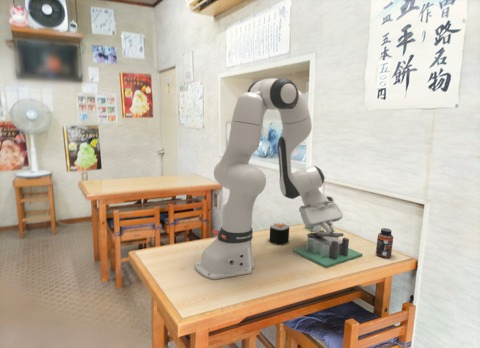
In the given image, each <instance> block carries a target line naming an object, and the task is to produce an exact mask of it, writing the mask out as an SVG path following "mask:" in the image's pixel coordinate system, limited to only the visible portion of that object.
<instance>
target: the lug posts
mask: <svg viewBox="0 0 480 348" xmlns="http://www.w3.org/2000/svg"><path fill="white" fill-rule="evenodd" d="M341 240H342V250H341V255H343V256H348V248H349V245H350V244H349V242H350V239H349V238H347V237H343V238H342V239H341ZM337 251H338V242H337V241H332V243H331V255H330V258H332V259H334V260H335V259H337Z"/></svg>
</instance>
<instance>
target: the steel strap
mask: <svg viewBox="0 0 480 348" xmlns="http://www.w3.org/2000/svg"><path fill="white" fill-rule="evenodd" d="M312 233H313V236H324V237H335V238H337V237H338V238H341V237H344V233H341V232H333V233H329V234H328V233H327V232H326V231H324V232H319V231H315V232H312Z"/></svg>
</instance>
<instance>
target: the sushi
mask: <svg viewBox="0 0 480 348" xmlns="http://www.w3.org/2000/svg"><path fill="white" fill-rule="evenodd" d="M289 239H290V225H288V224H286V223H283V222H281V223H280V222H278V223H277V222H276V223H272V224H270V225H269V240H268V242H269V243H271V244H273V245H274V244H275V245H280V246H281V245H286V244H288V243H289V241H290V240H289Z"/></svg>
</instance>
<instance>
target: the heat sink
mask: <svg viewBox="0 0 480 348" xmlns="http://www.w3.org/2000/svg"><path fill="white" fill-rule="evenodd" d="M318 232H325V230H323V229H321V230H320V231H318ZM313 233H314V232H310V233H307V239H306V245H305V246H306V250H312V251H313V253H314V254H315V253H318V254H320V255H321V257H327V258H330V255H331V243H332V241H337V242H338V251H337V256H338V255H341V250H342V239H340V238H339V237H337V238H335V237H324V236H313Z"/></svg>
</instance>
